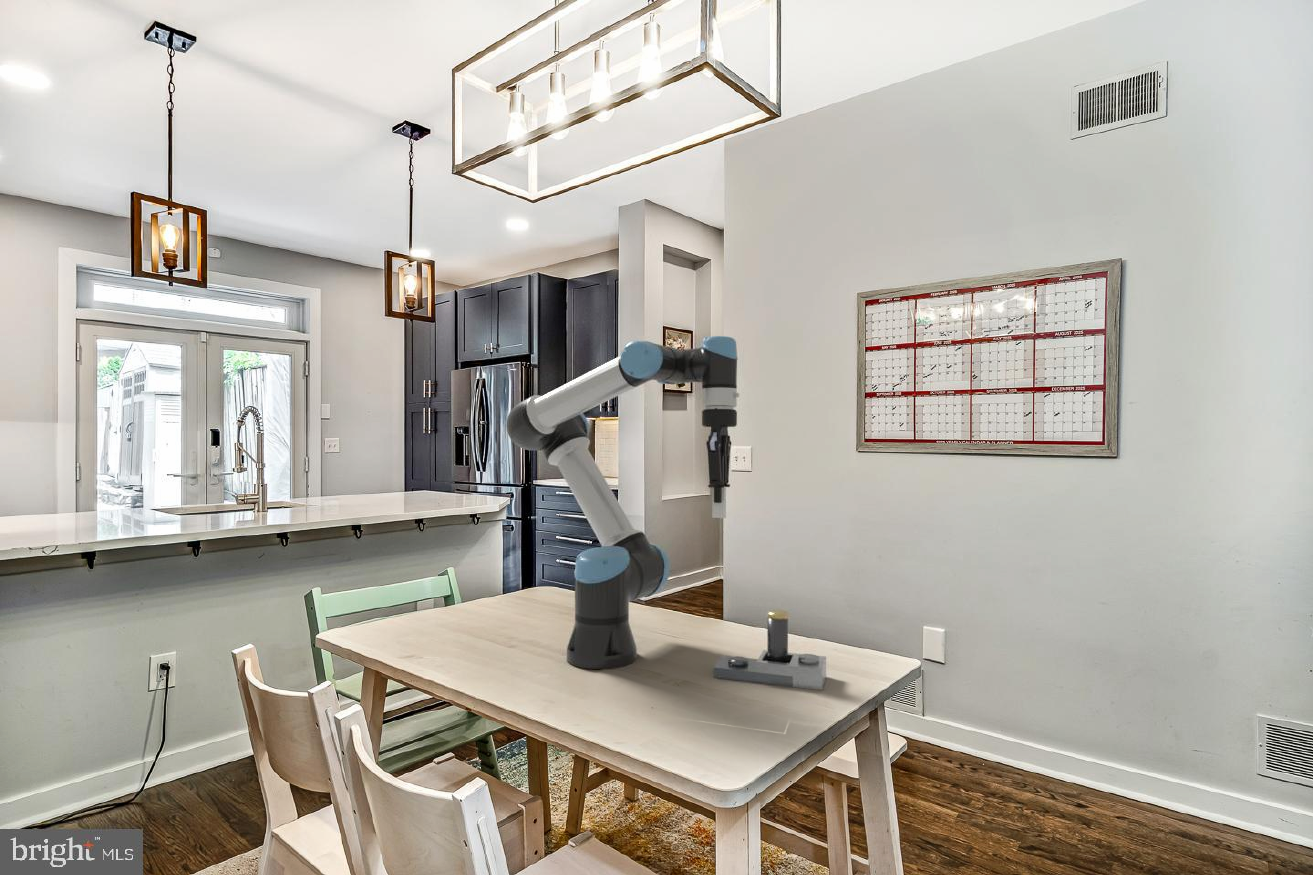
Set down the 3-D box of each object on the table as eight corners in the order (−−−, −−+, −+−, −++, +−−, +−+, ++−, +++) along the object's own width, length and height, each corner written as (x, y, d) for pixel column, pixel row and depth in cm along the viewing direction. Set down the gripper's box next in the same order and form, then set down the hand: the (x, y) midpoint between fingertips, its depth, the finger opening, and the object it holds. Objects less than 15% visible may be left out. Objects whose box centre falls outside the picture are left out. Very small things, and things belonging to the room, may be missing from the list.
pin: (765, 680, 134) (765, 613, 134) (769, 673, 138) (769, 609, 138) (786, 682, 133) (786, 615, 133) (789, 675, 137) (789, 610, 137)
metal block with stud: (713, 677, 135) (713, 653, 135) (723, 664, 143) (723, 642, 143) (822, 690, 129) (822, 664, 129) (826, 676, 136) (826, 652, 136)
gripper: (729, 407, 140) (729, 521, 140) (742, 409, 153) (742, 515, 153) (694, 407, 143) (694, 520, 143) (710, 410, 155) (709, 514, 155)
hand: (719, 517), depth 148 cm, fingers closed
